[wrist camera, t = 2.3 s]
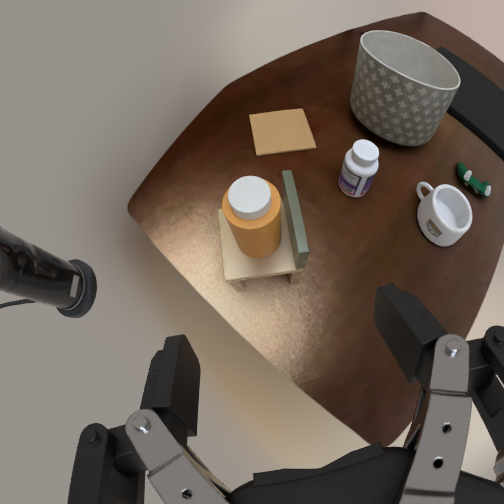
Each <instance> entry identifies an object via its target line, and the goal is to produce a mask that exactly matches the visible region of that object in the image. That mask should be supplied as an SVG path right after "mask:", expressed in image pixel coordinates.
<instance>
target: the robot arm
mask: <svg viewBox="0 0 504 504" xmlns="http://www.w3.org/2000/svg"><path fill="white" fill-rule="evenodd" d="M86 289H87V280H86V276H85V273H84V271H83V270H82V269H81V268H80V267H79V266H77V265H74V264H71V263H69V262H67V261H65V260H63V259H61V258H59V257H57V256H55V255H53V254H51V253H49V252H47V251H44V250H42V249H41V248H39V247H37V246H35V245H33V244H31V243H29V242H27V241H25V240H23V239H22V238H20V237H18V236H16V235H14V234H12V233H11V232H9V231H7V230H5V229H4V228H2V227H1V226H0V291H3V292H6V293H10V294H13V295H16V296H19V297H23V298H26V299H23V300H18V301H12V302H7V303H3V304H0V308H3V307H7V306H12V305H18V304H24V303H34V302H39V303H43V304H47V305H51V306H54V307H58V308H61V309H64V310H68V311H71V310H74V309H76V308H77V307H78V306H79V305H80V304H81V303H82V301H83V299H84V297H85V294H86ZM374 321H375V325H376V327H377V329H378V331H379V333H380V334H381V336H382V338H383V339H384V341H385V342H386V344H387V346H388V347H389V349H390V351H391V352H392V354H393V356H394V357H395V359H396V361H397V362H398V364H399V366H400V368H401V369H402V371H403V373H404V374H405V376H406V378H407V380H408V381H409V383H410V384H412V383H414V382H416V381H418V380H419V382H420V383H421V388H420V392H419V396H418V401H417V405H416V409H415V413H414V416H413V420H412V424H411V427H410V430H409V432H408V435H407V437H406V440H405V442H404V445H403V447H383V448H382V445H381V442H377V443H375V444H372V445H370V446H367V447H364V448H361V449H358V450H355V451H352V452H350V453H348V454H346V455H344V456H343V457H341V458H339V459H337V460H335V461H334V462H332V463H330V464H328V465H326V466H324V467H322V468H317V469H280V470H274V471H268V472H261V473H254V474H253V477H254V480H252V481H249V482H247V483H245V484H243V485H241V486H240V487H238V488H236V489H235V490H234V491H231V490H230V489H229V488H228V487H227V486H226V485H224V484H223V483H222V482H221V481H220V480H219V479H218V478H217V477H216V476H215V475H213V473H212V472H211V471H210V470H209V469H208V468H207V467H206V466H205V465H204V464H203V463H202V461H201V460H200V459H199V458H198V457H197V456H196V454H195V453H194V452H193V451H192V450H191V449H190V447H189V446H188V445H187V437H188V436H189V437H190V436H197V420H198V401H199V386H200V364H199V361H198V358H197V356H196V354H195V352H194V351H193V349H192V347H191V345H190V343H189V341H188V339H187V337H186V336H185V335H184V334H183V335H177V336H171V337H167V338H166V340H165V344H164V348H163V350H159V351H157V353H156V354H155V356H154V357H153V359H152V360H151V364H150V368H149V372H148V376H147V380H146V384H145V388H144V393H143V397H142V402H141V406H140V410H138V411H136V412H134V413H133V414H132V415H131V416H130V417H129V418H128V420H127V422H126V424H125V425H122V426H118V427H115V428H111V429H107V428H105V427H104V426H103V425H102V424H99V423H93V424H90V425H88V426H87V427H86V428H85V429H84V430H83V431H82V433H81V435H80V439H79V443H78V447H77V452H76V457H75V461H74V466H73V472H72V478H71V483H70V490H69V496H68V504H144V490H145V470H148V471H149V474H148V475H147V476H148V479H149V481H150V483H151V484H152V486H153V487H154V489H155V490H156V491H157V493H158V494H159V496H160V497H161V499H162V500H163V501H164V503H165V504H504V388H503V386H502V384H501V383H500V381H499V380H498V378H497V377H496V375H498V377H499V378H500V380H501V381H502V383H503V384H504V327H502V326H492V327H490V328H489V329H488V330H487V331H486V333H485V336H484V338H481V339H475V340H470V341H466V340H465V339H464V338H463V337H461V336H459V335H456V334H448V333H447V332H446V331H445V329H444V328H443V327H442V326H441V325H440V323H439V322H438V321H437V320H436V319H435V318H434V316H433V315H432V314H431V313H430V312H428V309H427V308H426V307H425V306H424V305H423V304H422V303H421V301H420V300H419V299H418V298H417V297H416V296H415V295H413V294H411V293H409V292H407V291H404V292H401V291H400V290H399V289H398V288H397V286H396V285H395V284H393V283H390V284H387V285H384V286H381V287H378V288H376V289H375V303H374ZM472 401H473V403H474V404H475V406H476V408H477V410H478V412H479V414H480V416H481V418H482V419H483V422H484V424H485V426H486V428H487V430H488V432H489V434H490V436H491V438H492V440H493V443H494V445H495V447H496V450H497V451H498V455H497V457H496V461H495V466H494V473H495V474H496V480H495V482H494V481H491V480H488V479H484V478H482V477H479V476H476V475H473V474H470V473H467V472H465V471H462V470H460V469H461V465H462V461H463V457H464V452H465V447H466V442H467V436H468V430H469V423H470V416H471V408H472Z"/></svg>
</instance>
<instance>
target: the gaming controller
mask: <svg viewBox="0 0 504 504" xmlns="http://www.w3.org/2000/svg"><path fill="white" fill-rule="evenodd" d="M457 172H458V175H459V177H460V179H461V180H462V181H464V182H465V183H464V184H465V185H466V186H468V185H470V186H471V187H473V188H474V189H475V190H474V192H476V193H477V192H479V193H480V194H482V195H483V196H484V197H486V198H487V197H488V196H489V195H490V192H491V186H490V184H489V182H487V181H485V182H484V183H483V184H482V183H481V182H479V181H478V180H477V179H475V178H474V177H473V176H472V172H471V171H468V170H467V169H466V167H465V165H464V164H463V163H461V162H459V163H457ZM467 184H468V185H467ZM477 194H478V193H477Z"/></svg>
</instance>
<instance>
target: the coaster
mask: <svg viewBox="0 0 504 504" xmlns="http://www.w3.org/2000/svg"><path fill="white" fill-rule="evenodd" d="M249 117H250V122H251V127H252V133H253V138H254V143H255V149H256V154H257V156H264V155H270V154H277V153H285V152H293V151H301V150H310V149H316V144H315V142H314V139H313V136H312V133H311V130H310V127H309V125H308V122H307V119H306V116H305V114H304V111H303V109H292V110H283V111H275V112H267V113H260V114H253V115H249Z"/></svg>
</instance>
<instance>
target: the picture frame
mask: <svg viewBox="0 0 504 504" xmlns="http://www.w3.org/2000/svg"><path fill="white" fill-rule="evenodd" d="M436 51H437V52H438V53H440V54H441V55H442V56H443V57H445V58H446V59H447V60H448V61H449V62H450V63H451V64H452V65H453V67H454V68H455V69H456V71H457V72H458V74H459V77H460V86H459V88H458V90H457V92H456V94H455V96H454V98H453V100H452V102H451V104H450V106H449V107H448V109H447V111H446V112H448V113H449V114H450V115H452V116H453V117H454V118H456V119H457V120H458V121H459V122H461V123H462V124H463V125H465V126H466V127H467V128H468V129H469V130H471V131H472V132H473V133H474V134H475V135H477V136H478V137H479V138H480V139H481V140H482V141H483V142H484V143H486V144H487V145H488V146H489V147H490V148H491V149H492V150H493V151H494V152H495V153H496V154H497V155H498V156H499V157H500V158H501V159H502V160H503V161H504V91H503V90H502V89H500V88H499V87H498V86H497V85H496V84H494V83H493V82H492V81H491V80H489V79H488V78H487V77H486V76H484V75H483V74H482V73H480V72H479V71H478V70H476V69H475V68H474V67H472V66H471V65H469V64H468V63H466V62H465V61H464V60H462V59H461V58H459V57H458V56H456V55H454V54H453V53H451V52H450V51H448V50H447V49H445V48H443V47H442V46H440V47H439V48H438V49H437V50H436Z"/></svg>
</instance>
